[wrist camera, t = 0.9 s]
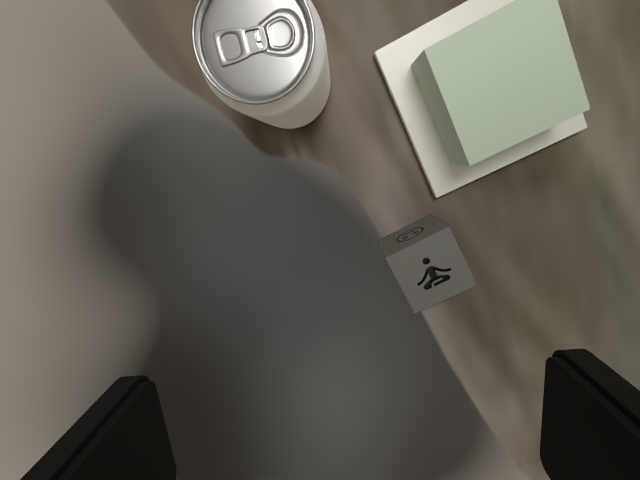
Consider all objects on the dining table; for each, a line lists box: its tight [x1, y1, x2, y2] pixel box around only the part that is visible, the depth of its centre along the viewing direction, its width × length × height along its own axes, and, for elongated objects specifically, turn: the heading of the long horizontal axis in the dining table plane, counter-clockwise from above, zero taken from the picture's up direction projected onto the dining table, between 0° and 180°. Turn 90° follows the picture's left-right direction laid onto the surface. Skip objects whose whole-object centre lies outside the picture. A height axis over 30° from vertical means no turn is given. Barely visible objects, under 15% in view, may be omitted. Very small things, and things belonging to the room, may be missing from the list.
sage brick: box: [411, 0, 590, 166], centre depth 24 cm, size 8×8×4 cm
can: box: [191, 0, 330, 129], centre depth 21 cm, size 6×6×12 cm
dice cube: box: [378, 214, 477, 314], centre depth 28 cm, size 5×5×5 cm
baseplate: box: [374, 0, 587, 198], centre depth 26 cm, size 12×12×1 cm
